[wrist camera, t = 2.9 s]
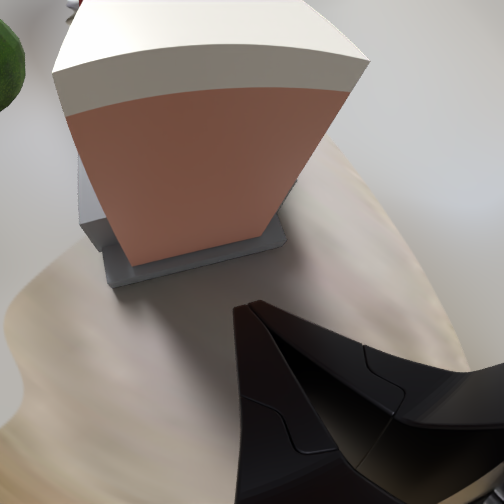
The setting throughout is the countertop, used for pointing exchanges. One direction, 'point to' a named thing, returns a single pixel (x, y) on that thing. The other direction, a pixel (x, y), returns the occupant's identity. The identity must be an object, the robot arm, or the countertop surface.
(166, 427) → the countertop surface
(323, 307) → the countertop surface
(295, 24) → the pink white rectangular block
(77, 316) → the countertop surface
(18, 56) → the avocado
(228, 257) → the housing
